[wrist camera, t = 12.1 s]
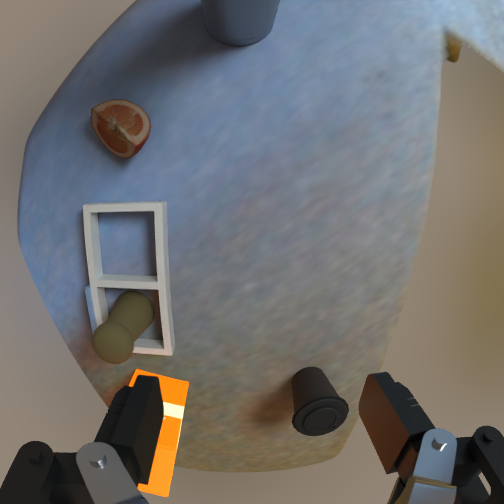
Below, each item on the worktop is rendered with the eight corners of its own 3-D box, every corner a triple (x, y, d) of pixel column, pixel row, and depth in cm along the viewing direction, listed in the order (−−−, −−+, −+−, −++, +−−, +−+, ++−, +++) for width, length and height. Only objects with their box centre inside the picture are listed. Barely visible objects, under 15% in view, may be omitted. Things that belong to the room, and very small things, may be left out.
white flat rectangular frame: (87, 203, 37) (76, 205, 34) (166, 200, 37) (160, 203, 34) (104, 340, 42) (96, 351, 39) (175, 346, 42) (171, 358, 39)
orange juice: (136, 368, 43) (95, 462, 24) (189, 381, 44) (171, 483, 25) (134, 401, 45) (101, 491, 26) (183, 414, 46) (167, 509, 27)
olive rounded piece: (158, 299, 41) (136, 338, 30) (150, 334, 42) (128, 378, 31) (119, 284, 40) (87, 319, 29) (112, 320, 41) (83, 360, 30)
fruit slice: (92, 132, 35) (75, 128, 30) (124, 93, 34) (110, 83, 29) (133, 169, 36) (119, 168, 31) (167, 128, 35) (157, 122, 30)
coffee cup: (324, 399, 47) (339, 440, 37) (278, 396, 46) (286, 440, 36) (339, 361, 45) (359, 401, 35) (290, 357, 44) (303, 399, 34)
